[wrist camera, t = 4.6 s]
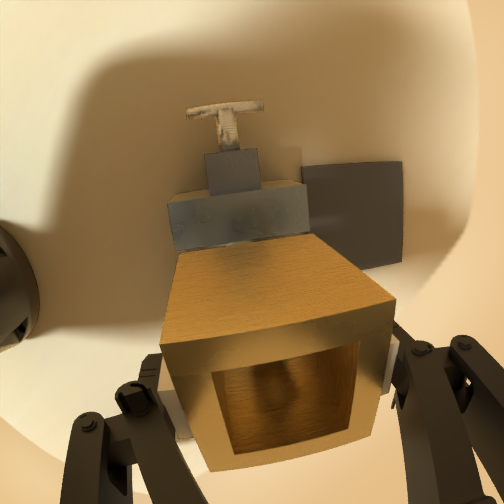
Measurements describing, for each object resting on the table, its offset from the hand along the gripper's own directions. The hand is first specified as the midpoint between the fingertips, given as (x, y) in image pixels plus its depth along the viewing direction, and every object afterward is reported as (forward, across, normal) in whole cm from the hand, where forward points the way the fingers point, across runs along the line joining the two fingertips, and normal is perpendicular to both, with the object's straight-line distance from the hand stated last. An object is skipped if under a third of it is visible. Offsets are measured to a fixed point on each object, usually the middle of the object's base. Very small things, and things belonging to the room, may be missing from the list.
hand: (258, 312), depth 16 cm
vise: (+13, 0, +3) cm, 14 cm away
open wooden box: (+1, 0, 0) cm, 1 cm away
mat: (+13, +12, +1) cm, 18 cm away
